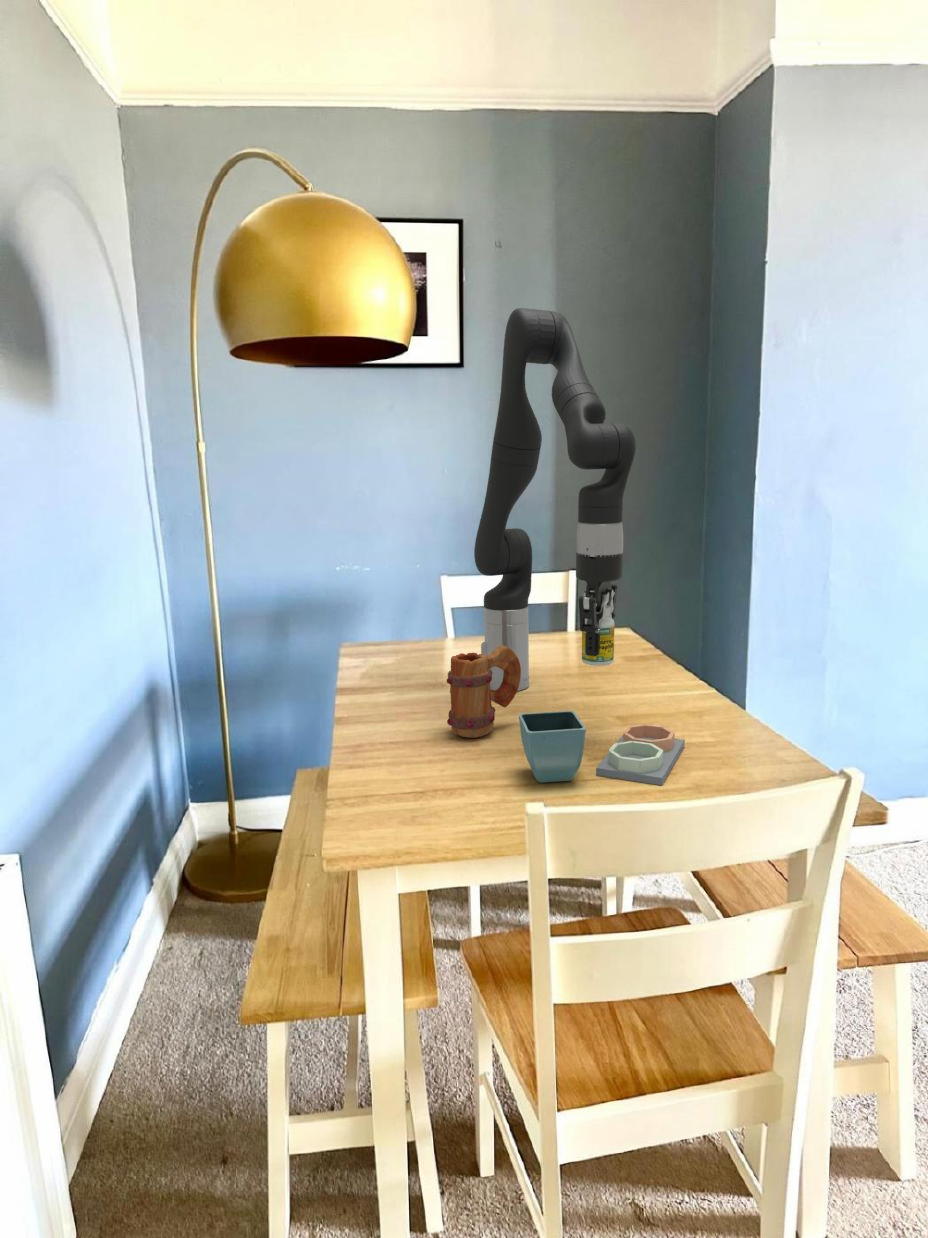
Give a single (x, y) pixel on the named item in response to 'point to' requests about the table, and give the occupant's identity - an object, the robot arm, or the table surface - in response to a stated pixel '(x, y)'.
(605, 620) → the supplement bottle
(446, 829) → the table surface
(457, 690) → the mug
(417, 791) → the table surface
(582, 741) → the flower pot
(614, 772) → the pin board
